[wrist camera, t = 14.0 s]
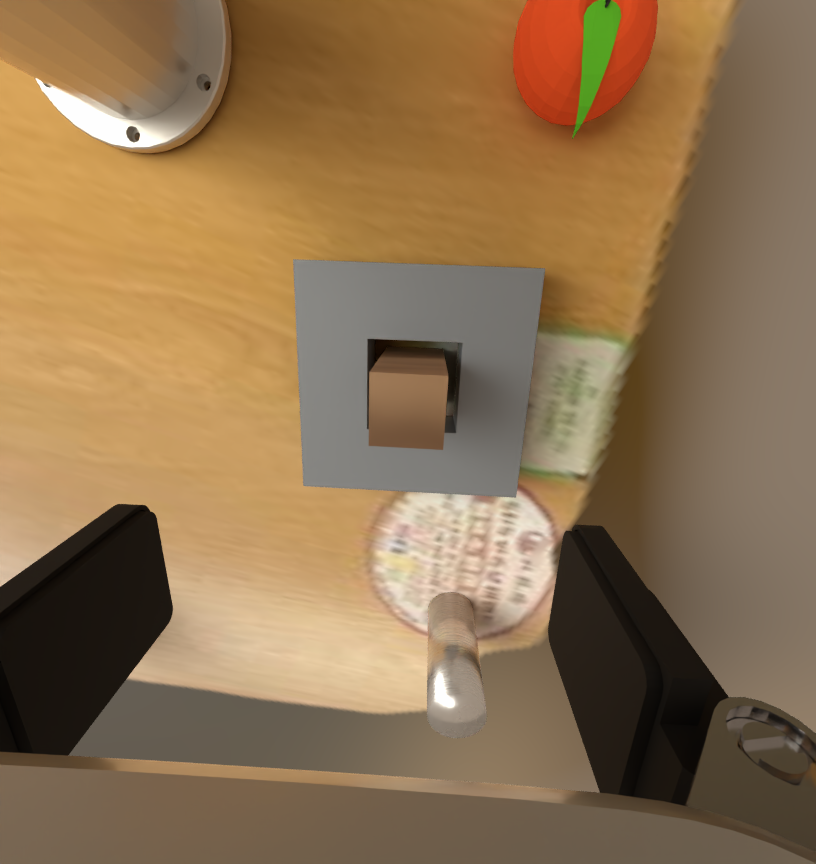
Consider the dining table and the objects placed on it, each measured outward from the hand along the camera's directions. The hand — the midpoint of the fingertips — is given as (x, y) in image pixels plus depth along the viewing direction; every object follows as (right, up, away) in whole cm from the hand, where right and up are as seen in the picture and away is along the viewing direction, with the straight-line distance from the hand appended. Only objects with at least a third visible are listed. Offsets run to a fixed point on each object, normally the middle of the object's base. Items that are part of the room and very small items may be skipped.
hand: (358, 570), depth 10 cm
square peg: (+2, +7, +22) cm, 23 cm away
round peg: (+5, -13, +29) cm, 32 cm away
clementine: (+10, +24, +16) cm, 31 cm away
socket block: (+2, +7, +22) cm, 23 cm away
